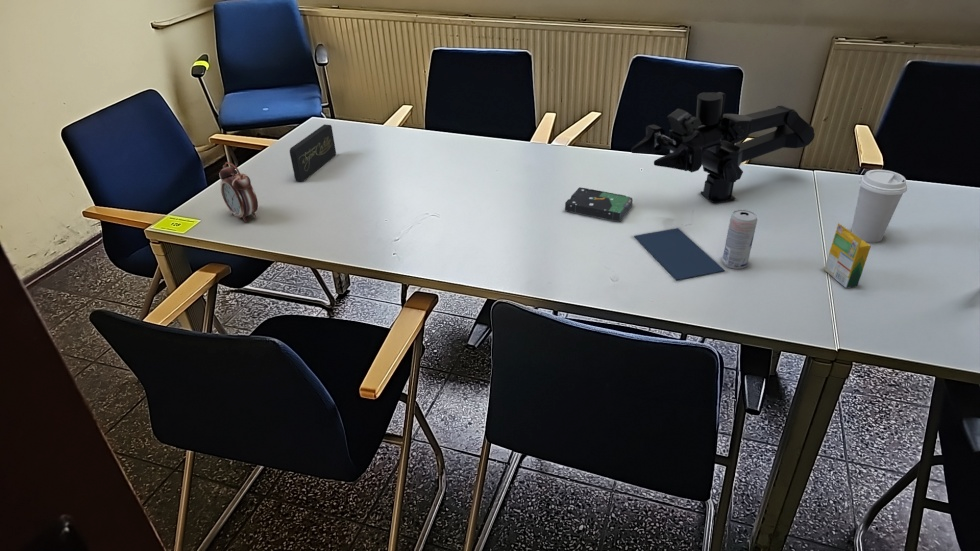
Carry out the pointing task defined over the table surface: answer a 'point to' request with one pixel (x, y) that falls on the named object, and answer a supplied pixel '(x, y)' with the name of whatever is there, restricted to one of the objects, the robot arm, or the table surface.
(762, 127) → the robot arm
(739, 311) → the table surface
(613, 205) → the disk drive
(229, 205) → the alarm clock
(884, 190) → the coffee cup
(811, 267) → the table surface
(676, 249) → the mat
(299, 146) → the nameplate
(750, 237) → the energy drink
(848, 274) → the crayon box
